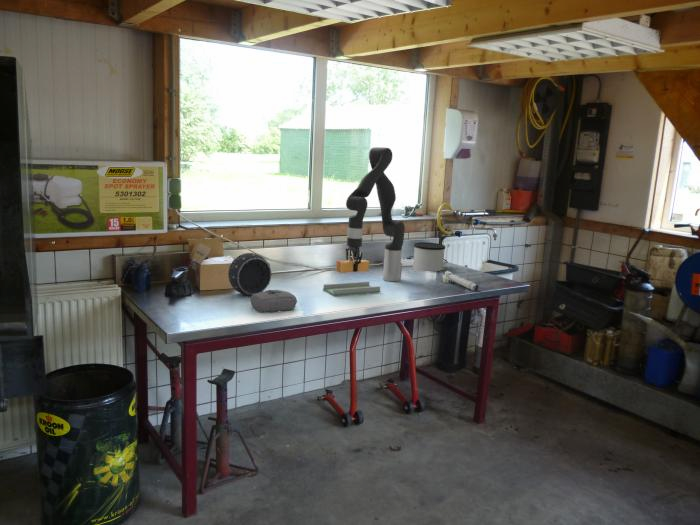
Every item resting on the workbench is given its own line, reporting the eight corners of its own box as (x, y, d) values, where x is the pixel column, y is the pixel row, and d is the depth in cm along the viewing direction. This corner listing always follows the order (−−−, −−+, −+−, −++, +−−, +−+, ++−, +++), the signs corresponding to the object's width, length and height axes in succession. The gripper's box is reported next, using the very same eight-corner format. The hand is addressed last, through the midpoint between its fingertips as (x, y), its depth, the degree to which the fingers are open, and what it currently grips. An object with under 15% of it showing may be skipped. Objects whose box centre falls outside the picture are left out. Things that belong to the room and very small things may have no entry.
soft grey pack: (260, 315, 252) (302, 311, 262) (260, 296, 250) (303, 292, 260) (247, 306, 265) (288, 302, 275) (247, 288, 263) (289, 284, 273)
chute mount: (367, 286, 312) (368, 281, 312) (380, 292, 301) (380, 286, 300) (322, 289, 300) (323, 284, 299) (334, 296, 289) (334, 290, 288)
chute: (363, 268, 305) (364, 259, 304) (369, 271, 300) (370, 261, 299) (335, 270, 297) (336, 260, 296) (341, 273, 292) (341, 263, 291)
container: (436, 273, 354) (438, 248, 351) (407, 268, 363) (409, 244, 360) (447, 268, 370) (449, 245, 367) (420, 264, 379) (421, 241, 376)
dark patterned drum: (273, 295, 285) (274, 254, 281) (235, 299, 273) (235, 257, 270) (263, 289, 294) (264, 250, 290) (225, 294, 282) (225, 252, 278)
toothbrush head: (473, 284, 313) (442, 268, 332) (470, 296, 315) (439, 280, 335) (480, 284, 316) (448, 268, 335) (477, 295, 318) (446, 279, 337)
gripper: (368, 238, 291) (366, 273, 294) (354, 234, 303) (352, 267, 306) (355, 239, 287) (352, 273, 290) (341, 234, 299) (339, 267, 303)
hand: (352, 270), depth 298 cm, fingers closed on chute, 4 cm apart
